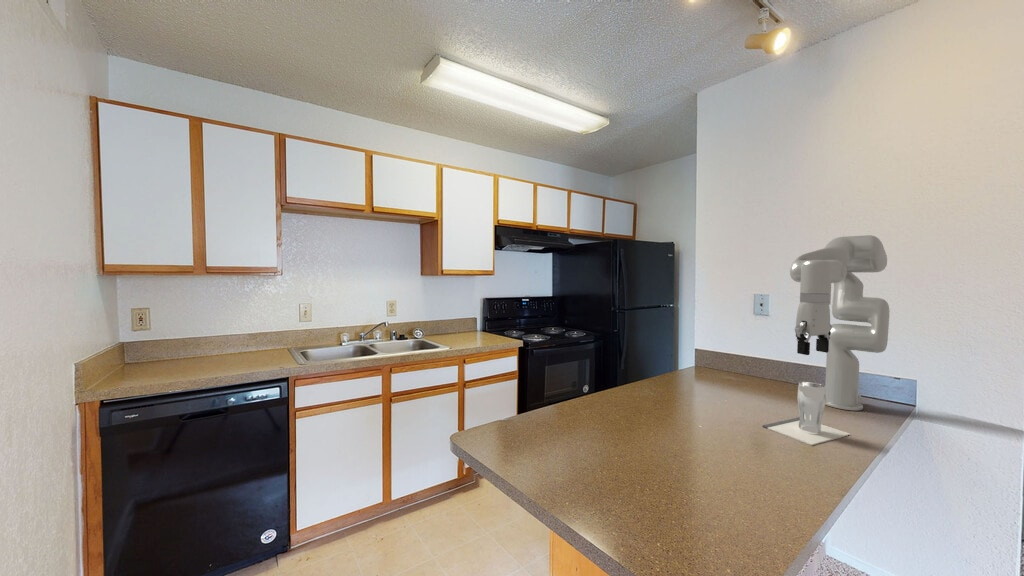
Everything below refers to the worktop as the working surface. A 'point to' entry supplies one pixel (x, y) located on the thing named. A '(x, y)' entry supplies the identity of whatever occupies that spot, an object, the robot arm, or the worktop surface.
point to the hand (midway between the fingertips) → (812, 352)
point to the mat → (792, 431)
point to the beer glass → (811, 407)
